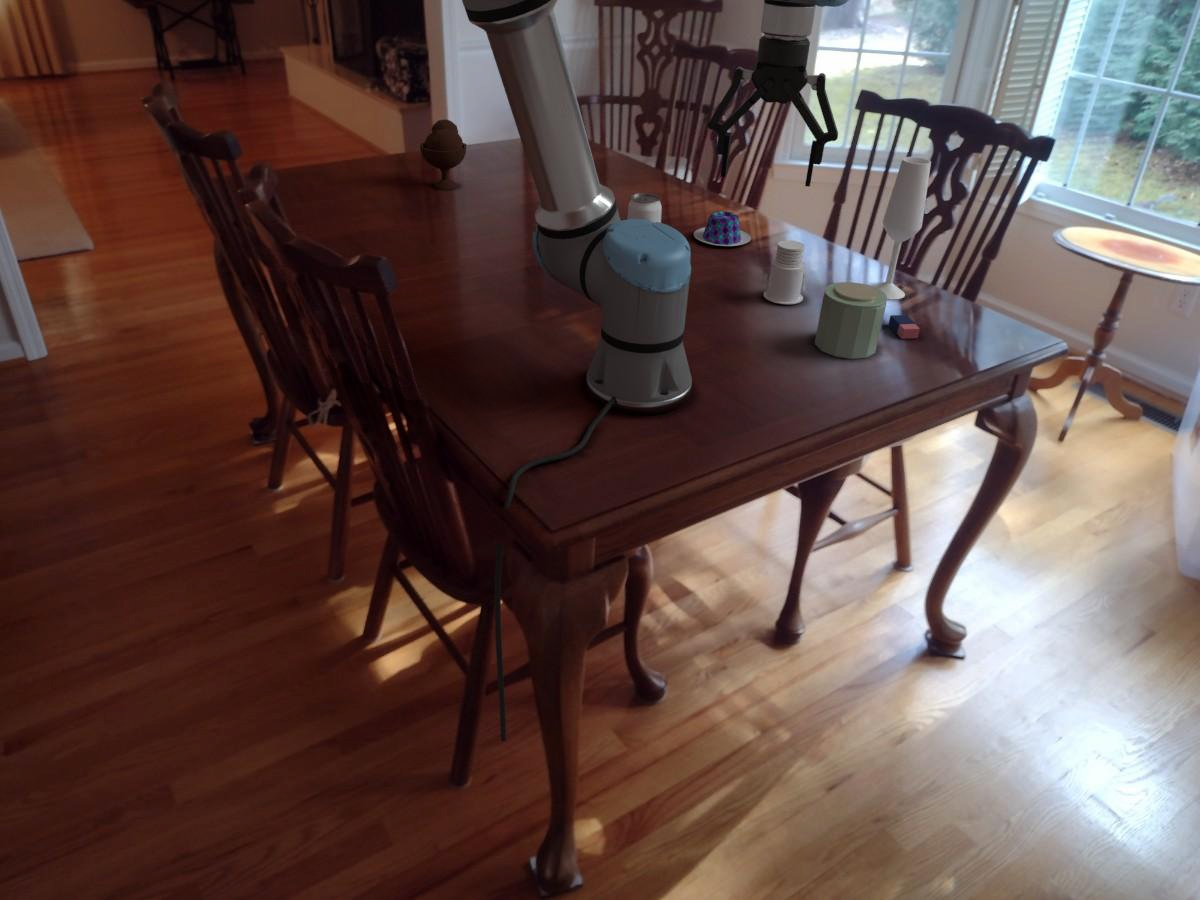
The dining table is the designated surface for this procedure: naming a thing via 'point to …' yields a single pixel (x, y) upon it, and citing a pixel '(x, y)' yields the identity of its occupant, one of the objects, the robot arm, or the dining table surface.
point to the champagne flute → (905, 213)
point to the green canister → (850, 320)
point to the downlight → (786, 274)
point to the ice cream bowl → (444, 151)
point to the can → (645, 207)
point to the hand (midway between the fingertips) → (765, 179)
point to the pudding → (722, 230)
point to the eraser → (903, 326)
